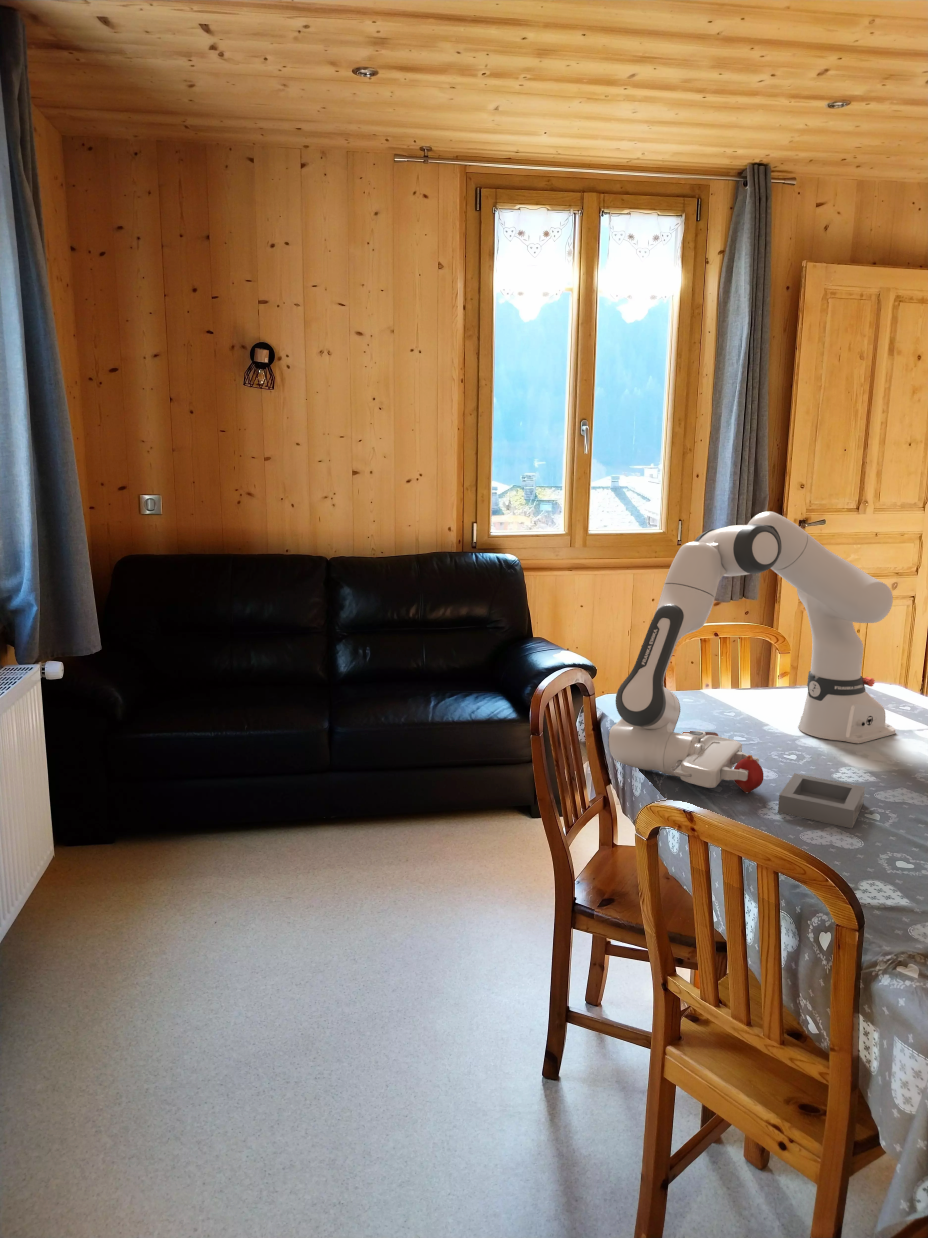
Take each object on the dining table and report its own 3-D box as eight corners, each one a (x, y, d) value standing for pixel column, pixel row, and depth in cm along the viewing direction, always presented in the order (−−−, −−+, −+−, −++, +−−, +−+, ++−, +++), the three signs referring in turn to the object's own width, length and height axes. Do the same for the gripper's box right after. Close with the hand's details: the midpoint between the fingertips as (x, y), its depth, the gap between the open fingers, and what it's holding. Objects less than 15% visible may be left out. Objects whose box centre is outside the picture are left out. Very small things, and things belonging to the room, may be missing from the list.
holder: (777, 812, 166) (779, 795, 165) (793, 789, 177) (794, 773, 176) (851, 828, 159) (853, 810, 159) (863, 804, 170) (864, 787, 169)
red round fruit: (727, 787, 178) (729, 749, 176) (754, 786, 178) (757, 749, 177) (738, 798, 172) (741, 760, 171) (766, 798, 173) (769, 759, 171)
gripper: (668, 756, 172) (740, 771, 165) (700, 728, 189) (766, 739, 182) (666, 787, 173) (737, 802, 166) (698, 756, 190) (764, 768, 183)
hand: (753, 769), depth 174 cm, fingers open, 6 cm apart
